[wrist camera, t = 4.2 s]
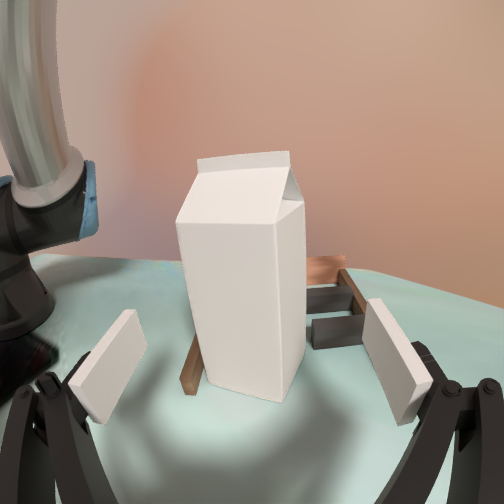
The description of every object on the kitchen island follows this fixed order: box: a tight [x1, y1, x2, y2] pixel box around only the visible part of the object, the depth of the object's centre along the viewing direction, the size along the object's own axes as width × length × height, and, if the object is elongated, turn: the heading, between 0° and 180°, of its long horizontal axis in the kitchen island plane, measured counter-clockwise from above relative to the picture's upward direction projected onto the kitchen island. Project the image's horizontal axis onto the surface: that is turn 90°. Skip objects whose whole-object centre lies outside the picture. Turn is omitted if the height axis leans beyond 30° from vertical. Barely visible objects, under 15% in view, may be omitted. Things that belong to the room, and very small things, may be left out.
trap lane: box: [179, 255, 367, 395], centre depth 31 cm, size 19×22×4 cm
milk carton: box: [175, 151, 306, 403], centre depth 21 cm, size 7×7×19 cm
